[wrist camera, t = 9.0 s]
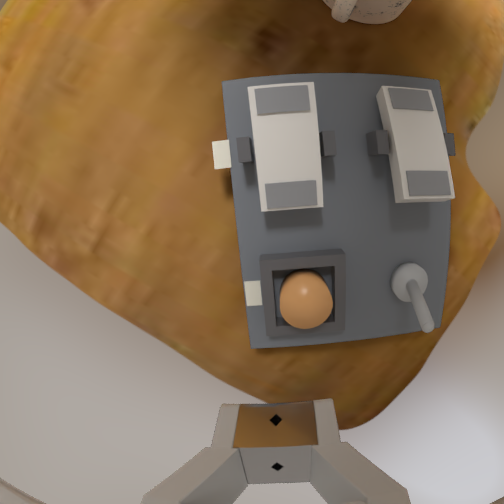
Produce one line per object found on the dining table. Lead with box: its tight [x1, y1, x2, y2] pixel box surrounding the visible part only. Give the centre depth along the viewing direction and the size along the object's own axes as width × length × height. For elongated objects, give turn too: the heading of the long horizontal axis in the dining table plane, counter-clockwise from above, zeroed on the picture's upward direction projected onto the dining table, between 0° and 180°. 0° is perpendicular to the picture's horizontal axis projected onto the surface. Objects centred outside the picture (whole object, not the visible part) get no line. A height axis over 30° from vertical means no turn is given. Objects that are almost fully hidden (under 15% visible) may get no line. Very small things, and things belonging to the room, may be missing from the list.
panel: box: [212, 73, 455, 349], centre depth 21 cm, size 21×18×8 cm
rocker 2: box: [376, 86, 455, 203], centre depth 18 cm, size 8×4×2 cm, turn 6°
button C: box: [280, 269, 333, 329], centre depth 22 cm, size 4×4×2 cm
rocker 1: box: [248, 82, 323, 212], centre depth 19 cm, size 8×4×2 cm, turn 6°
